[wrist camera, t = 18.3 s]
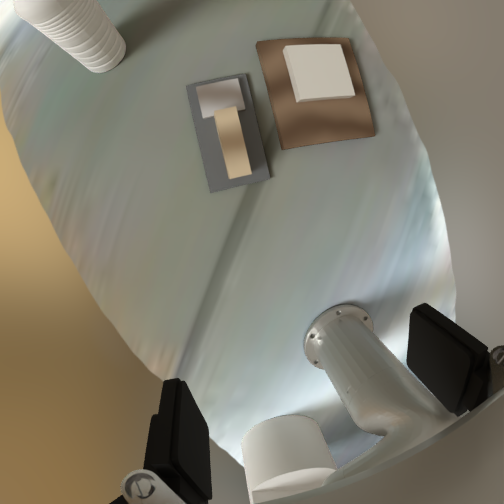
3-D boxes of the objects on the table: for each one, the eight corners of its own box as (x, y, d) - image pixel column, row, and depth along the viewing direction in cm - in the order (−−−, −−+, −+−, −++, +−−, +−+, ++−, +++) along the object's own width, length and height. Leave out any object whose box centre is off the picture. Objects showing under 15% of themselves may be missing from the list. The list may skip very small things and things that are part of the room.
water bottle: (123, 29, 29) (57, -73, 5) (130, 62, 31) (52, -38, 7) (71, 53, 29) (-24, -17, 5) (76, 87, 30) (-36, 28, 7)
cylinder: (300, 460, 56) (332, 552, 29) (231, 458, 52) (246, 564, 26) (333, 416, 52) (385, 520, 25) (255, 411, 49) (286, 542, 22)
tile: (355, 95, 33) (340, 44, 31) (300, 99, 32) (285, 45, 30) (348, 98, 35) (334, 49, 32) (296, 103, 34) (282, 51, 32)
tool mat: (269, 178, 38) (270, 178, 37) (210, 192, 37) (210, 192, 37) (245, 75, 34) (245, 73, 33) (186, 87, 33) (185, 86, 33)
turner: (259, 171, 37) (263, 171, 34) (217, 181, 37) (218, 182, 33) (237, 80, 33) (239, 71, 30) (196, 88, 33) (194, 80, 29)
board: (370, 137, 38) (375, 136, 37) (281, 150, 37) (284, 149, 36) (344, 41, 34) (348, 38, 32) (255, 45, 33) (257, 41, 31)
